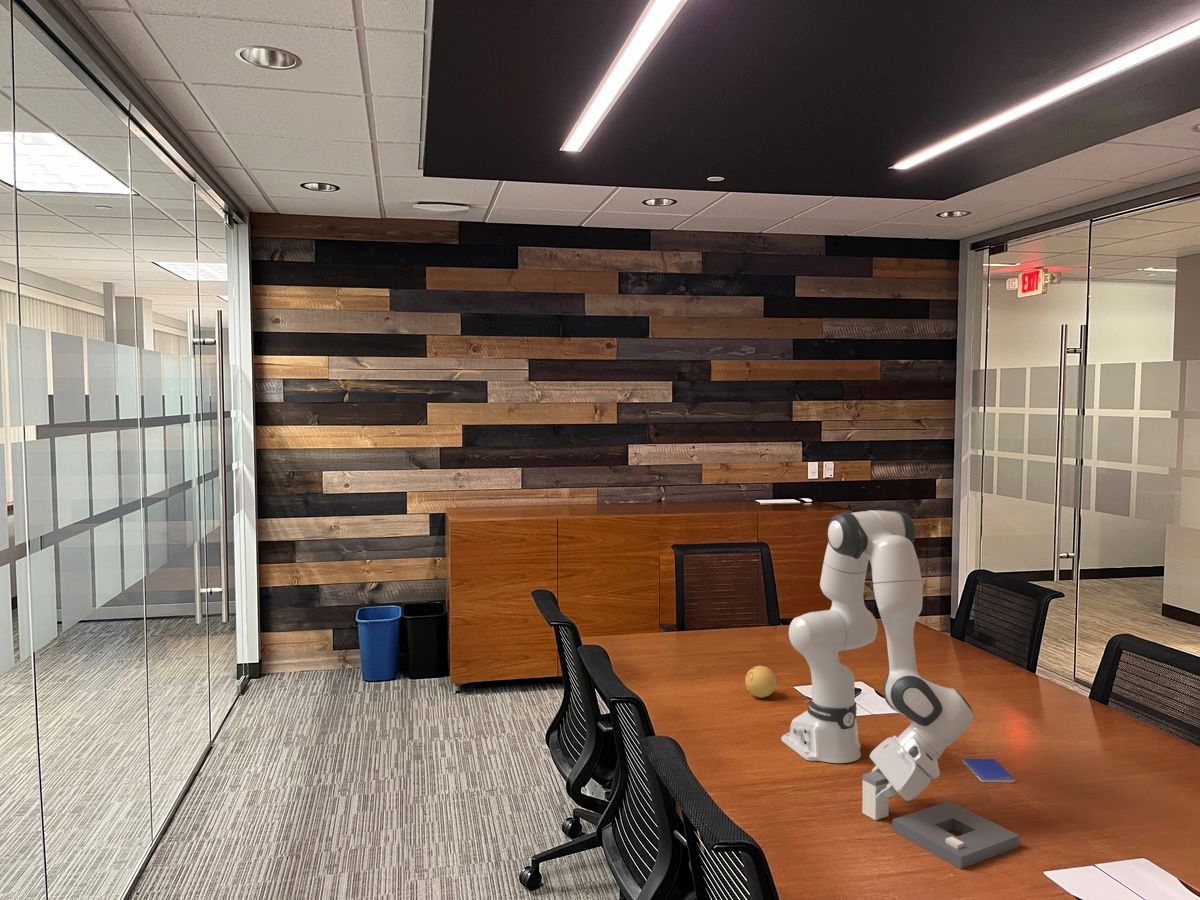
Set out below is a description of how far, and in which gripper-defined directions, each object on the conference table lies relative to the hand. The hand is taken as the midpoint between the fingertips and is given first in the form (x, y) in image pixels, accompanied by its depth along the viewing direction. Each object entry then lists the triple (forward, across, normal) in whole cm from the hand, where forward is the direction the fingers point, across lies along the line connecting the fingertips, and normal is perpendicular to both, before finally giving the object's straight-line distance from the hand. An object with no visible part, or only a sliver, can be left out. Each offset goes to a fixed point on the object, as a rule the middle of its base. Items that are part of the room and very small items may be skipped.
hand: (872, 792), depth 195 cm
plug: (+3, 0, +4) cm, 5 cm away
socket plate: (-6, +11, +14) cm, 19 cm away
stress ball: (+11, -80, -3) cm, 81 cm away
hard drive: (-22, -21, +30) cm, 43 cm away
